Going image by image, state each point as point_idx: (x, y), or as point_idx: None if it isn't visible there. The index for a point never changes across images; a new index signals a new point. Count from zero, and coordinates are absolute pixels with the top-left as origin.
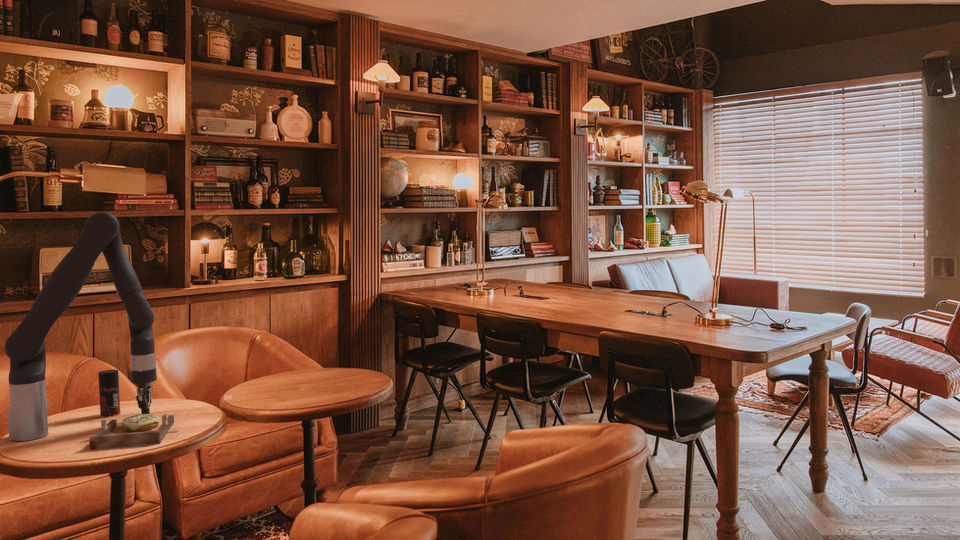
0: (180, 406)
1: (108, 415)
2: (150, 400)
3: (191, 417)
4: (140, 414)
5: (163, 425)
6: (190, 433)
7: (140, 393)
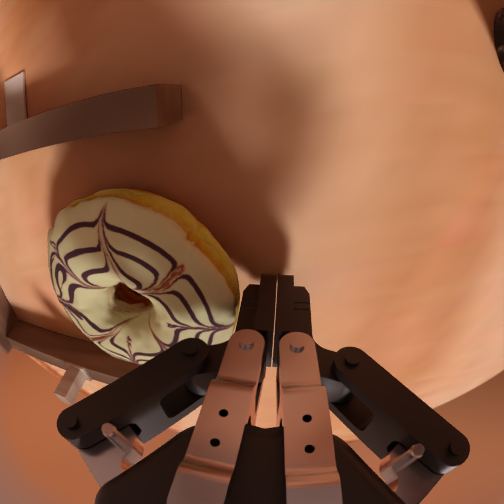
0: (474, 359)
1: (500, 38)
2: (330, 408)
3: (274, 409)
4: (177, 311)
5: (66, 365)
6: (93, 387)
7: (92, 468)
